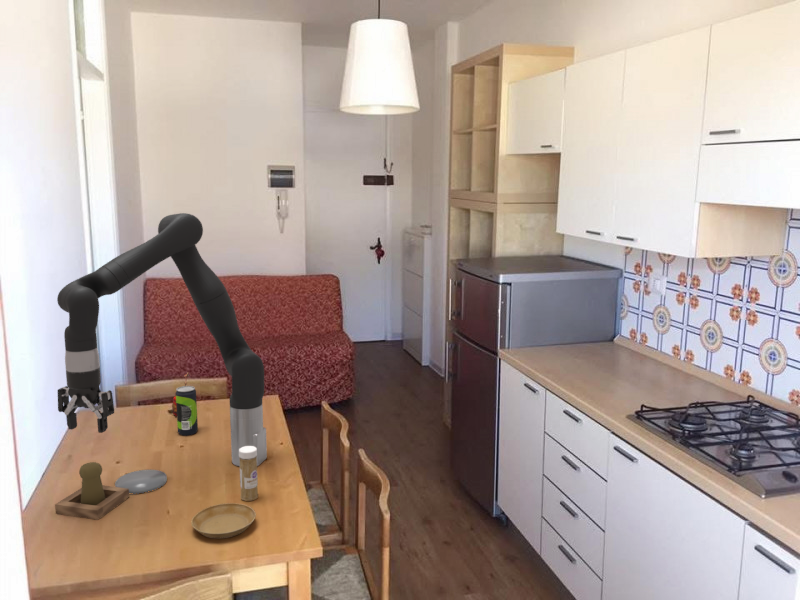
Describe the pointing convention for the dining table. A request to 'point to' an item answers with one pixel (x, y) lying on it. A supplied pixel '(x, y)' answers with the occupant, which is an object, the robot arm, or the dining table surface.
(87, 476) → the cork
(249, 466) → the sprinkles bottle
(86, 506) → the holder board
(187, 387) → the beverage can
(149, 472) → the slate coaster
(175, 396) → the red clay folk toy
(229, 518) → the plant saucer
